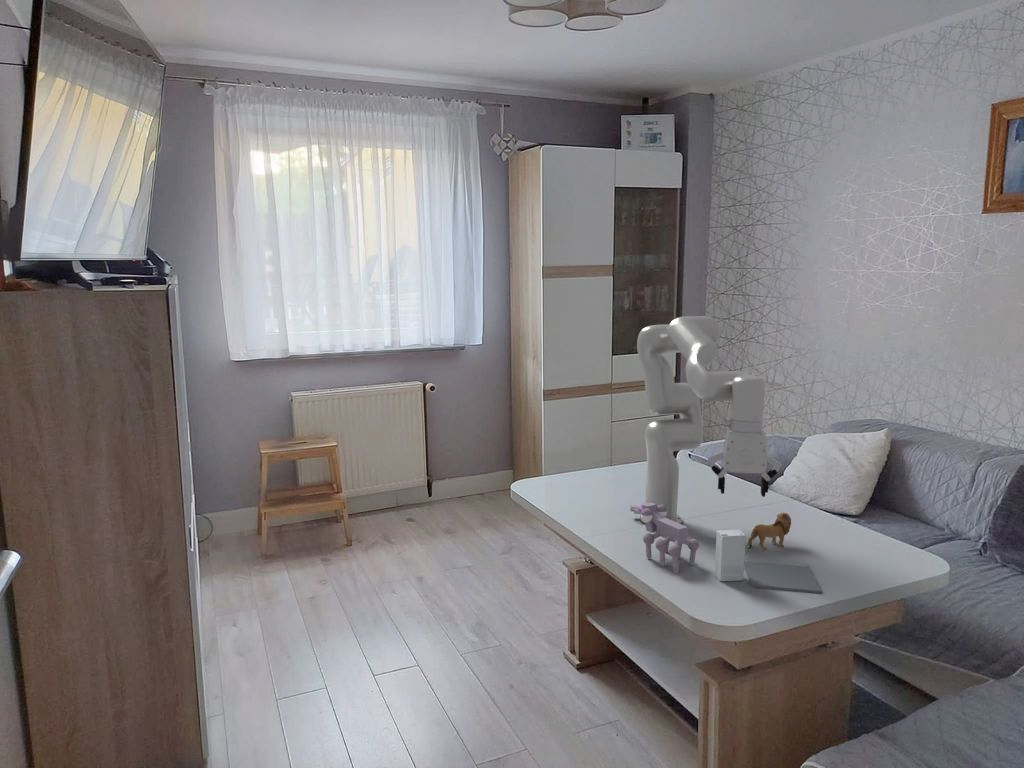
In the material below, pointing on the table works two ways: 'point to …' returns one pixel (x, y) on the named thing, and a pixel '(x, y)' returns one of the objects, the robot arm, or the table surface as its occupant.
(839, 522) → the table surface
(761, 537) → the lion figurine
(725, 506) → the table surface
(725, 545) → the skincare box
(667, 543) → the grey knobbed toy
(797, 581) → the mat
